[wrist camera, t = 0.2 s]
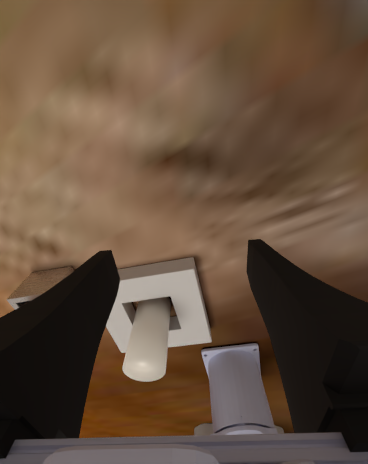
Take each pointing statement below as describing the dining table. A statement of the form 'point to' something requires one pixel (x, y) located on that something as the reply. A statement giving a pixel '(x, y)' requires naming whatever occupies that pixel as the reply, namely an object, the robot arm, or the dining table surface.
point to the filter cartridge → (148, 340)
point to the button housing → (37, 285)
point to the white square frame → (157, 286)
